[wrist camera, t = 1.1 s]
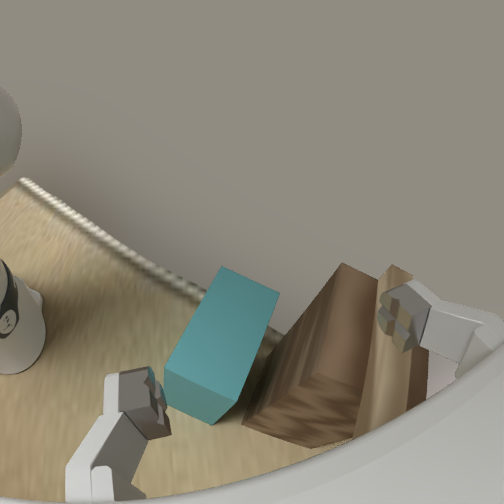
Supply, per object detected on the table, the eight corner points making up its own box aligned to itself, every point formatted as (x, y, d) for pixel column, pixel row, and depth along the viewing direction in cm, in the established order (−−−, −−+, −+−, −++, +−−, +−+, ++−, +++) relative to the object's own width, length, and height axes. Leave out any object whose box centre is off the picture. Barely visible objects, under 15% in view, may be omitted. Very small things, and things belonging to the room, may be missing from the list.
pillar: (241, 424, 43) (316, 372, 24) (268, 355, 52) (341, 262, 33) (310, 448, 42) (424, 410, 23) (329, 380, 51) (428, 305, 32)
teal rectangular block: (163, 402, 42) (164, 367, 29) (203, 326, 52) (221, 265, 40) (211, 425, 42) (236, 401, 29) (246, 346, 52) (280, 293, 39)
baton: (338, 490, 17) (358, 490, 15) (377, 280, 32) (392, 264, 30) (367, 495, 17) (389, 494, 15) (398, 290, 32) (412, 275, 30)
